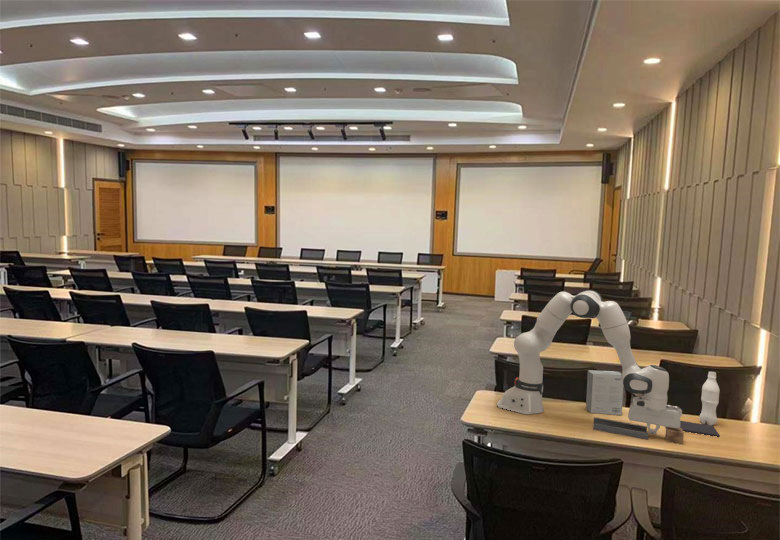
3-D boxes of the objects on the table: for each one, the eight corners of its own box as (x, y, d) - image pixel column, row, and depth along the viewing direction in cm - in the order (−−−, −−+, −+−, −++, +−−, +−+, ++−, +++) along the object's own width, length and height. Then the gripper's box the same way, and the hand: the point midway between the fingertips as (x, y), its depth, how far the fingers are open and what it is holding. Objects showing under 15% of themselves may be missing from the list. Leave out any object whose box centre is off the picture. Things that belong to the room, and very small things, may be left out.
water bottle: (696, 423, 239) (701, 371, 237) (701, 419, 244) (705, 369, 242) (714, 427, 234) (719, 375, 232) (718, 424, 239) (723, 372, 237)
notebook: (665, 429, 230) (719, 438, 222) (665, 426, 230) (719, 435, 222) (661, 420, 241) (712, 428, 234) (661, 417, 241) (713, 425, 234)
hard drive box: (616, 410, 252) (619, 371, 251) (622, 415, 244) (625, 375, 243) (584, 408, 254) (587, 369, 252) (589, 413, 246) (592, 373, 245)
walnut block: (666, 441, 214) (667, 430, 214) (665, 437, 220) (666, 425, 219) (682, 444, 212) (683, 433, 212) (680, 439, 217) (681, 428, 217)
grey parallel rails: (593, 429, 224) (593, 424, 224) (593, 422, 233) (594, 417, 233) (647, 439, 215) (648, 433, 215) (646, 431, 224) (646, 426, 224)
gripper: (681, 405, 217) (678, 436, 218) (629, 396, 225) (626, 426, 226) (683, 409, 211) (680, 441, 212) (630, 400, 219) (627, 431, 220)
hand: (652, 433), depth 219 cm, fingers closed
